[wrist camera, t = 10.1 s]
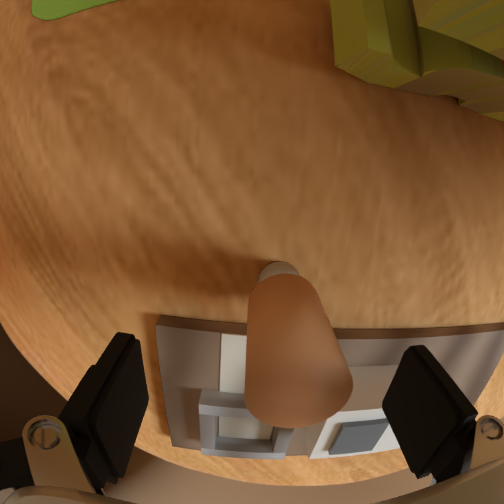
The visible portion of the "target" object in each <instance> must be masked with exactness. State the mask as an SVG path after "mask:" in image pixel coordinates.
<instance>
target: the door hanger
mask: <svg viewBox="0 0 504 504" xmlns="http://www.w3.org/2000/svg"><path fill="white" fill-rule="evenodd" d="M115 1H119V0H32V7H31V11H32V15H33V16H35V17H37V18H39V19H43V20H54V19H59V18H62V17H65V16H67V15H70V14H73V13H76V12H79V11H82V10H85V9H89V8H92V7H95V6H99V5H103V4H107V3H110V2H115Z"/></svg>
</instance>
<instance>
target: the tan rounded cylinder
mask: <svg viewBox="0 0 504 504" xmlns="http://www.w3.org/2000/svg"><path fill="white" fill-rule="evenodd" d="M352 390H353V379H352V375H351V373H350V370H349V368H348V365H347V363H346V361H345V358H344V356H343V353H342V351H341V348H340V346H339V344H338V341H337V339H336V336H335V334H334V332H333V329H332V327H331V324H330V322H329V320H328V317H327V315H326V313H325V310H324V308H323V306H322V304H321V301H320V299H319V297H318V294H317V292H316V290H315V288H314V287H313V285H312V284H311V283H310V282H309V281H307V280H306V279H304V278H303V277H300V276H299V273H298V271H297V270H296V269H295V268H294V267H293V266H292V265H291V264H289V263H286V262H273V263H270V264H268V265H267V266H265V267H264V268H263V269H262V271H261V272H260V274H259V277H258V285H257V286H256V287H255V288H254V289H253V291H252V293H251V295H250V297H249V301H248V318H247V342H246V365H245V389H244V400H245V404H246V407H247V409H248V410H249V412H250V413H251V414H252V415H253V416H254V417H255V418H256V419H258V420H260V421H261V422H263V423H265V424H268V425H271V426H275V427H280V428H301V427H307V426H311V425H314V424H317V423H320V422H322V421H324V420H326V419H328V418H330V417H332V416H333V415H335V414H336V413H337V412H338V411H340V410H341V409H342V408H343V407H344V405H345V404H346V403H347V401H348V400H349V398H350V396H351V393H352Z"/></svg>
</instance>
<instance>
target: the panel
mask: <svg viewBox="0 0 504 504" xmlns="http://www.w3.org/2000/svg"><path fill="white" fill-rule="evenodd" d="M155 328H156V339H157V349H158V358H159V366H160V374H161V382H162V389H163V396H164V402H165V409H166V415H167V420H168V426H169V431H170V437H171V442H172V446H174V447H180V448H187V449H193V450H201V452H202V454H204V455H213V456H223V457H234V458H251V459H284V457H285V456H297V455H308V450H307V443H306V437H305V431H304V427H301V428H280V427H275V426H271V425H268V424H265V423H263V422H261V421H260V420H258V419H256V418H255V417H254V416H253V415H252V414H251V413H250V412H249V410H248V409H247V407H246V404H245V400H244V389H245V365H246V342H247V324H238V323H227V322H216V321H206V320H197V319H188V318H180V317H172V316H164V315H160V317H159V319H158V321H157V323H156V324H155ZM333 332H334V334H335V336H336V339H337V341H338V344H339V346H340V348H341V351H342V353H343V356H344V358H345V361H346V363H347V365H348V367H357V366H385V365H399V363H400V361H401V358H402V356H403V353H404V351H405V350H407V349H408V347H409V346H413V345H425V346H426V347H427V348H428V350H429V351H430V352H431V353H432V354H433V356H434V357H435V358H436V359H437V361H438V362H439V363H440V364H441V365H442V367H443V368H444V369H445V370H446V372H447V373H448V374H449V375H450V377H451V378H452V379H453V380H454V382H455V383H456V384H457V385H458V387H459V388H460V389H461V391H462V392H463V393H464V394H465V396H466V397H467V398H468V400H469V401H470V402H471V404H472V405H474V404H475V402H476V401H477V399H478V397H479V396H480V394H481V393H482V391H483V389H484V388H485V386H486V384H487V383H488V381H489V379H490V377H491V376H492V374H493V372H494V370H495V368H496V366H497V364H498V363H499V361H500V359H501V357H502V355H503V353H504V323H495V324H485V325H473V326H459V327H442V328H418V329H333Z"/></svg>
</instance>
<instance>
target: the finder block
mask: <svg viewBox="0 0 504 504" xmlns="http://www.w3.org/2000/svg"><path fill="white" fill-rule="evenodd" d="M398 366H399V365H385V366H357V367H348V368H349V370H350V373H351V375H352V379H353V390H352V393H351V396H350V398H349V400H348V401H347V403H346V404H345V405H344V407H343V408H342V409H341V410H340V411H338V412H337V413H336V414H335V415H333V416H332V417H330V418H328V419H326V420H324V421H322V422H320V423H317V424H314V425H311V426H307V427H304V431H305V437H306V443H307V450H308V456H309V459H316V458H331V457H343V456H352V455H360V454H368V453H374V452H381V451H386V450H392V449H397V448H400V446H399V444H398V441H397V439H396V437H395V435H394V433H393V431H392V429H391V426H390V424H389V422H388V420H387V418H386V416H385V414H384V412H383V409H382V401H383V399H384V397H385V395H386V392H387V390H388V388H389V386H390V384H391V382H392V379H393V377H394V375H395V373H396V370H397V368H398Z"/></svg>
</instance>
